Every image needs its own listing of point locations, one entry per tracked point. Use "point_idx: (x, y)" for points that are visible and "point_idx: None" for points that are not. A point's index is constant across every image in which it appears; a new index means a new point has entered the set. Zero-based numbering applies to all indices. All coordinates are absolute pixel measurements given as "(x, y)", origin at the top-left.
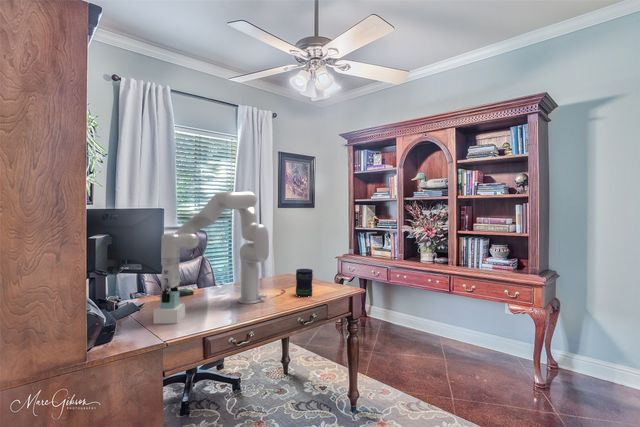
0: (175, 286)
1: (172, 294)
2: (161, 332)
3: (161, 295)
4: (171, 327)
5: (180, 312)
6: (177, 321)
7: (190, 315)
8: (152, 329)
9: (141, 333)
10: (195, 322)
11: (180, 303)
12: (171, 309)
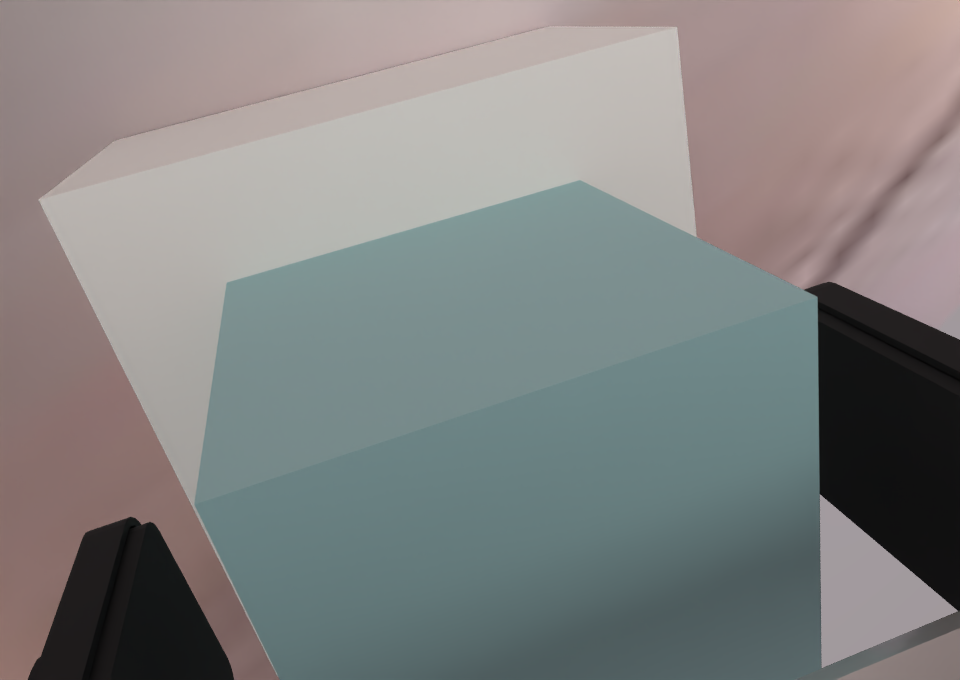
0: (841, 665)
1: (781, 403)
2: (924, 30)
3: (803, 666)
4: (731, 8)
5: (413, 79)
6: (546, 30)
7: (3, 49)
8: (814, 238)
9: (939, 269)
10: None
11: (115, 318)
12: (672, 190)
